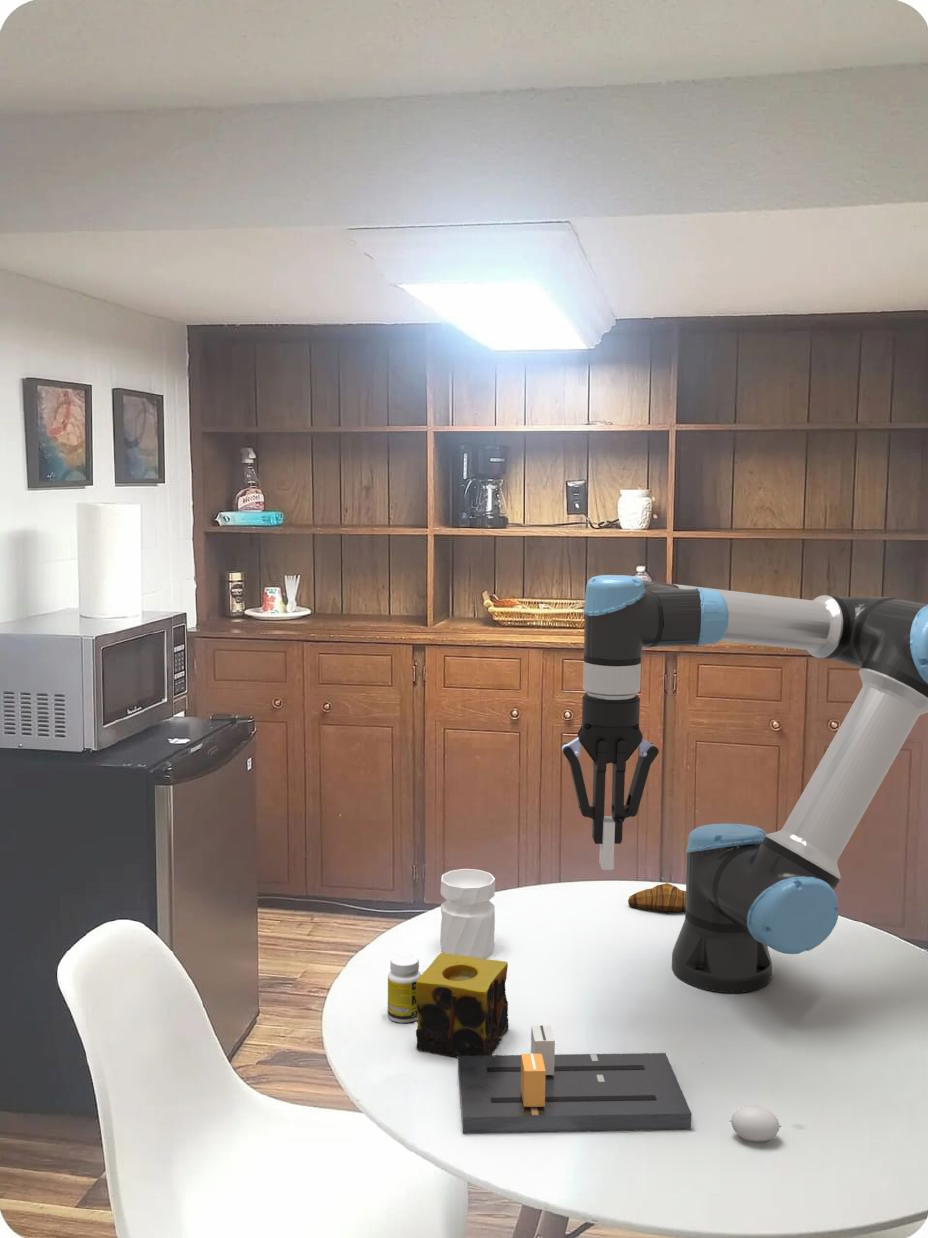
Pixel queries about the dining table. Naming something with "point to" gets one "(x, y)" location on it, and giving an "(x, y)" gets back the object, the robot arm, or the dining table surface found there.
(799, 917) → the robot arm
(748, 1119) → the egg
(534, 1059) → the fader
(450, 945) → the vase
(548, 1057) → the fader
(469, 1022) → the candle
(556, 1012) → the dining table surface
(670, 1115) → the console
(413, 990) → the supplement bottle
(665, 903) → the croissant
